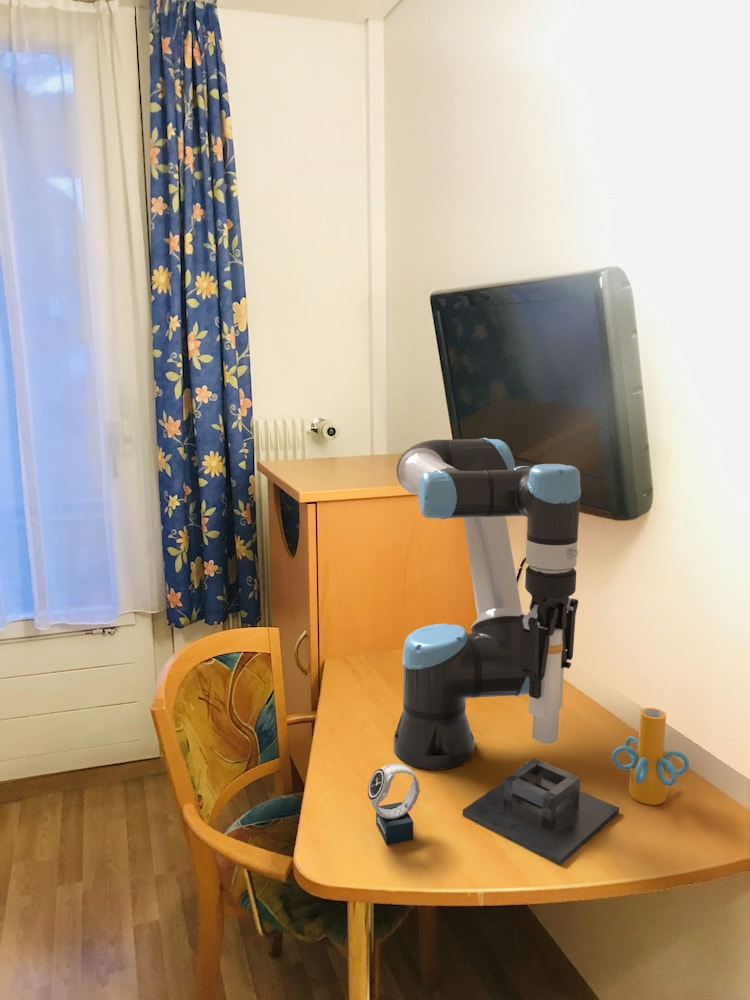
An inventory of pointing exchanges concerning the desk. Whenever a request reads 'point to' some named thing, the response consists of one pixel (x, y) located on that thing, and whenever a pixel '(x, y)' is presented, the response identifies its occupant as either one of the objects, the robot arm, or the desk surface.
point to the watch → (393, 816)
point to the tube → (551, 693)
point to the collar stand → (542, 811)
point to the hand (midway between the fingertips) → (545, 709)
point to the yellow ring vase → (650, 760)
